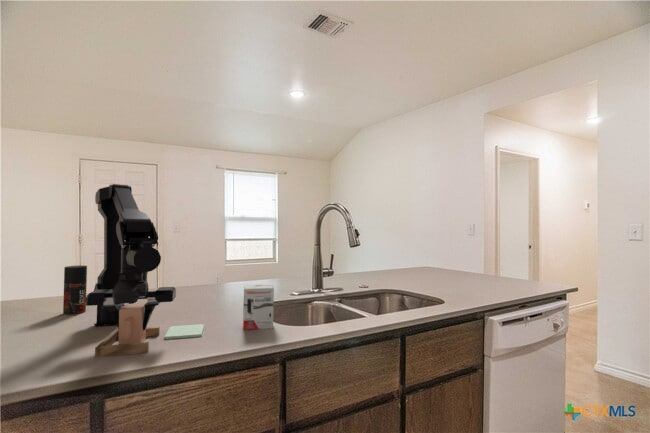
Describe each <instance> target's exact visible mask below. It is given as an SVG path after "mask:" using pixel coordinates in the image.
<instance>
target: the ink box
mask: <svg viewBox="0 0 650 433" xmlns="http://www.w3.org/2000/svg"><path fill="white" fill-rule="evenodd" d="M274 290H275V289H274V285H273V284H271V283H270V284H267V283H264V284H245V285H244V286H243V306H242V307H243V313H242V314H243V317H242V320H243V322H242V325H243V326H242V330H243V331H245V330H246V331H247V330H248V331H249V330H251V331H252V330H266V329H267V328H270V329H274V311H275V310H274V309H275V308H274V307H275V306H274V296H275V291H274ZM267 330H268V329H267Z"/></svg>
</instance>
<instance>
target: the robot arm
mask: <svg viewBox="0 0 650 433" xmlns="http://www.w3.org/2000/svg"><path fill="white" fill-rule="evenodd" d="M132 193H133V190H132V186H131V185H128V184H120V183H113V184H109V185H108V186H105V187H101V188H98V190H97V191H96V192H95V197H94V198H95V200H94V201H95V204H96V205H97V212H98V213H99V214H100V215H101V217H102V218H103V229H104V230H103V269H102V271H101V272H100V273H99V275H98V276H97V282H96V283H95V286H94V288H93V291H90V292H89V293H88V294H86V307H89V306H92V307H93V306H96V322H95V323H94V324H93V326H94V327H100V326H114V325H116V327H117V329H119V309H121V308H122V307H123V306H124V305H125V304H128V305H130V304H137V302H138V300H146V301H147V302H146V303H144V304H145V305H144V306H145V313H144V320H143V330H145V329H146V328H147V327H148V324H149V322H150V319H151V316H152V314H153V312H154V310H155V308H156V306H159V304H161V303H171V302H174V300H175V298H177V288H176V287H175V286H161V287H158V288H157V289H156V290H150V288H149V283H148V272H153V271H154V270H156V269H157V268H158V267H159V266H160V264H161V260H162V256H161V254H160V252H159V250H158V249H157V248H155V247H153V245H158V240H159V235H158V233H157V230H156V229H157V228H156V227H155V224H154V222H153V221H152V220H151V218H150V216H148V214H147V213H146V212H142V211H141V210H140V209H139V206H138V205H137V201H136V200H135V198H134V196H133V194H132Z"/></svg>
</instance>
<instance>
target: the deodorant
mask: <svg viewBox="0 0 650 433" xmlns="http://www.w3.org/2000/svg"><path fill="white" fill-rule="evenodd" d="M63 271H64V272H63V275H64V276H63V303H62V306H63V309H62V310H63V311H62V315H63V316H74V315H80V314H83V313H86V311H87V306H86V297H87V286H88V285H87V284H88V283H87V281H88V279H87V278H88V265H68V266H64V270H63Z"/></svg>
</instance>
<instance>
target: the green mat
mask: <svg viewBox="0 0 650 433" xmlns="http://www.w3.org/2000/svg"><path fill="white" fill-rule="evenodd" d="M204 329H205V323H202V324H201V323H200V324H189V325H188V324H187V325H172V326H170V327H169V328H168V330H167V332H166V333H165V335H164V338H163V339H164V340H172V339H174V340H175V339H188V338H198V337H199V338H200V337H203V333H204Z"/></svg>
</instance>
